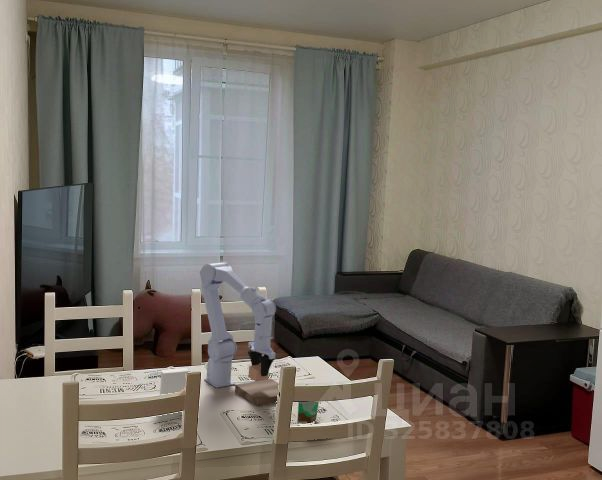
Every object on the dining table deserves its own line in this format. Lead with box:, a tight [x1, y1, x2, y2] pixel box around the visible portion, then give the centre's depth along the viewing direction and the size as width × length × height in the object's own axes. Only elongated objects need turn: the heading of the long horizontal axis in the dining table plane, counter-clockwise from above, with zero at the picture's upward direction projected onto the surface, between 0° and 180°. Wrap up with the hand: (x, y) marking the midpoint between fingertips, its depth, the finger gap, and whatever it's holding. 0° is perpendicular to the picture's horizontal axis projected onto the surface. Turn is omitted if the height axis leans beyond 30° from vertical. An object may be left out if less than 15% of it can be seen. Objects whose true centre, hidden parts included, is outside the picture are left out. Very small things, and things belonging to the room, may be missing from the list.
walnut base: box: [234, 378, 280, 407], centre depth 213 cm, size 15×15×2 cm
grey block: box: [159, 367, 191, 396], centre depth 198 cm, size 9×9×12 cm
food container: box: [296, 384, 320, 423], centre depth 194 cm, size 12×6×10 cm, turn 168°
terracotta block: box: [247, 364, 270, 382], centre depth 211 cm, size 5×5×4 cm
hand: (259, 373), depth 211 cm, fingers closed on terracotta block, 5 cm apart
